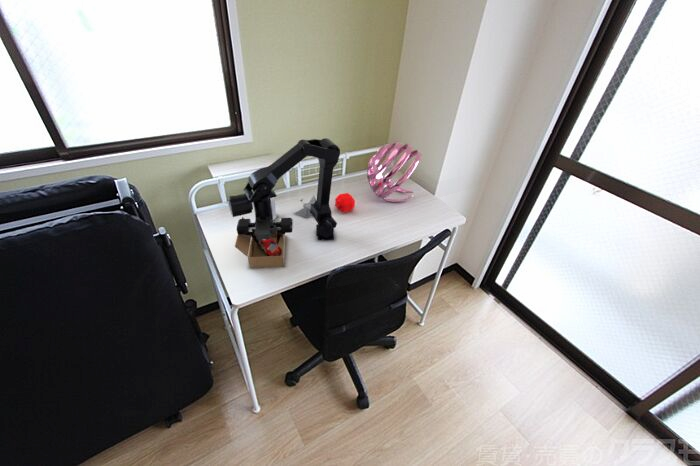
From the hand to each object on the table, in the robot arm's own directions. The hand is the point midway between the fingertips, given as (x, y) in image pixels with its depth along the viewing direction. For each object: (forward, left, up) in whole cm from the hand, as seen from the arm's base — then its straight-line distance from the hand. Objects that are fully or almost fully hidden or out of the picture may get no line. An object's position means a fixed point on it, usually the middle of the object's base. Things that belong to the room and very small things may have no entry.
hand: (268, 243), depth 112 cm
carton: (0, 0, -4) cm, 4 cm away
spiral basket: (-56, -39, -4) cm, 69 cm away
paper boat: (-15, -25, -4) cm, 30 cm away
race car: (0, 0, -3) cm, 2 cm away
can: (+2, -21, -4) cm, 22 cm away
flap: (+8, 0, +4) cm, 9 cm away
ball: (-32, -26, -4) cm, 42 cm away
